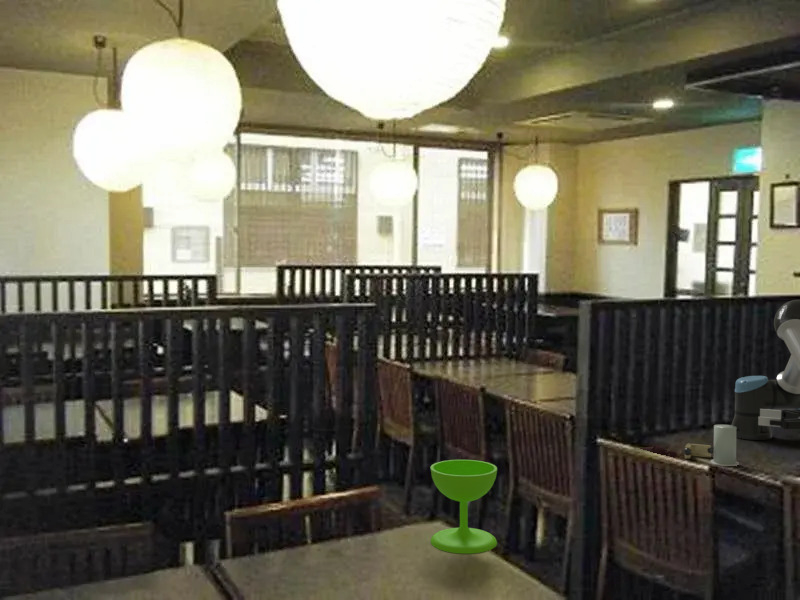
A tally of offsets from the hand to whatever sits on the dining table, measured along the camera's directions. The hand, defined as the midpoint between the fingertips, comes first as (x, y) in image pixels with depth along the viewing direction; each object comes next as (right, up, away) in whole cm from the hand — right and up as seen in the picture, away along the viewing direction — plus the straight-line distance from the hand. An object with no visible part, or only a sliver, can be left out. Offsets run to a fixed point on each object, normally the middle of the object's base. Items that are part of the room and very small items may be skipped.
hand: (759, 416), depth 260 cm
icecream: (-33, -17, +3) cm, 37 cm away
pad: (-10, -16, +4) cm, 20 cm away
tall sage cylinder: (-10, -16, +4) cm, 19 cm away
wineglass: (-104, -20, -71) cm, 128 cm away
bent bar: (-15, -16, +12) cm, 25 cm away
